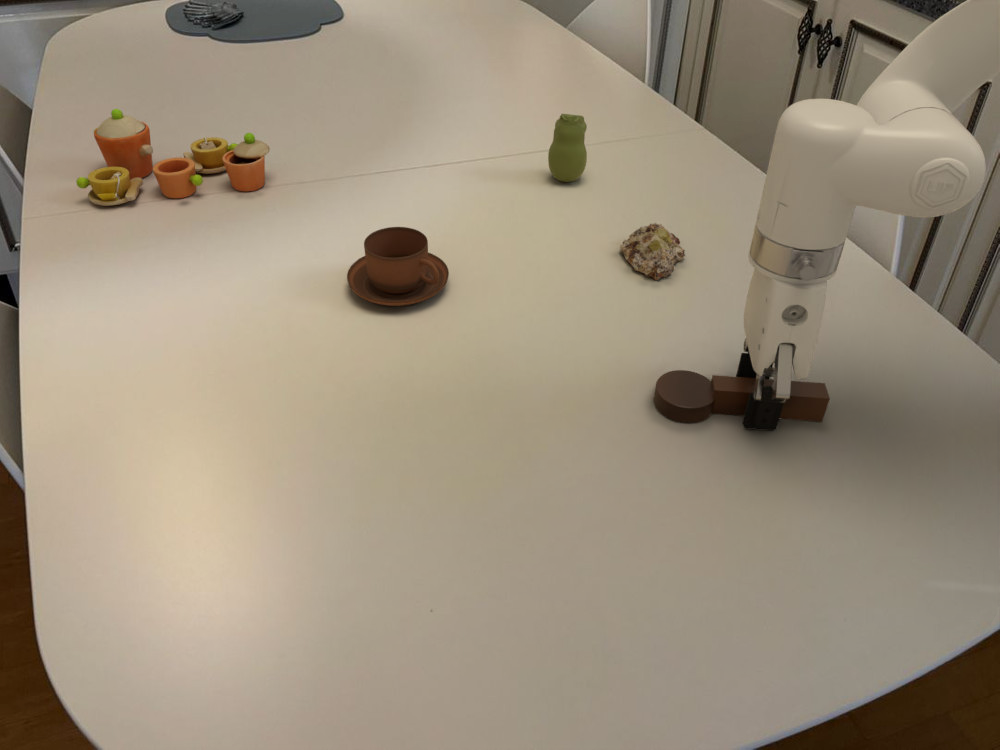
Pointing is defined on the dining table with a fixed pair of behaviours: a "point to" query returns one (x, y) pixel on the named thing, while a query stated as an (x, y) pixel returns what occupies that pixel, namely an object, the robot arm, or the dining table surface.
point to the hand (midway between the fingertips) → (754, 405)
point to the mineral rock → (653, 251)
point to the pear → (568, 148)
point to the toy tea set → (167, 163)
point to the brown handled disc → (730, 397)
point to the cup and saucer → (397, 268)
